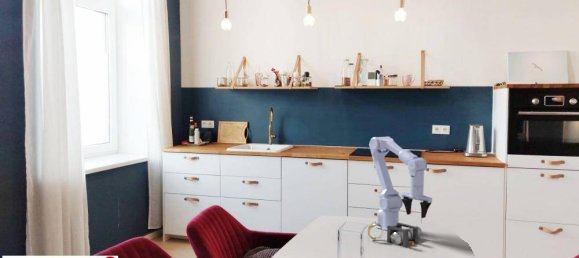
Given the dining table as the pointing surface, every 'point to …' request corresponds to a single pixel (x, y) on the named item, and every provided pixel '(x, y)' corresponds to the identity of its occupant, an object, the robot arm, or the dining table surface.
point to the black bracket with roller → (405, 233)
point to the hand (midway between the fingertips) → (416, 215)
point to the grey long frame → (398, 236)
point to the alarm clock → (372, 227)
